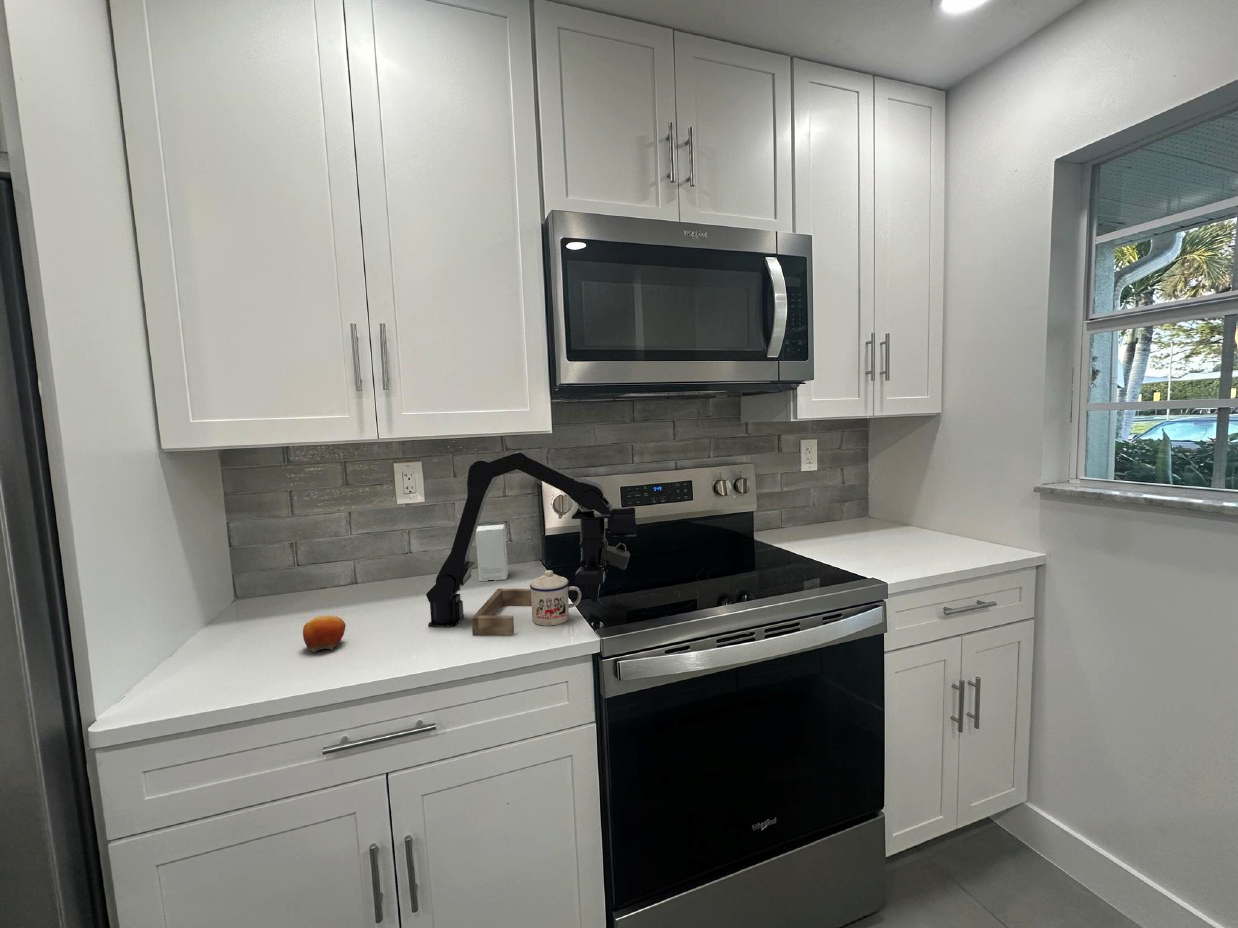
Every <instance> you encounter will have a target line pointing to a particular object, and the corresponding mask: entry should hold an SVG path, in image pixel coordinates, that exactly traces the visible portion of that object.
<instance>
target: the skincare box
mask: <svg viewBox="0 0 1238 928" xmlns="http://www.w3.org/2000/svg"><path fill="white" fill-rule="evenodd" d="M505 526H506V525H505V524H492V525H491V524H490V525H478V527H477V530H476V533H475V545H476V547H475V548H476V556H477V570H478V581H482V582H489V581H488V580H494V581H504V580H507V579H508V576H509V568H508V567H509V565H508V553H507V552H508V551H507V550H508V549H507V538H506V527H505Z"/></svg>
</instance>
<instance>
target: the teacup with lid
mask: <svg viewBox="0 0 1238 928" xmlns="http://www.w3.org/2000/svg"><path fill="white" fill-rule="evenodd" d="M569 583H570V582H569V580H568V579H567V578H566V577H564V576H560V575H557V574H555V573H554V571H553V570H550V569H549V570H545V571H544V574H542V575H541V576H539V577H537V578H534V579H532V580H531V582H530V583H529V589H531V602H532V606H531V618H532V619H531V620H532V622H533V623H534V624H535V625H538V626H544V627H545V626H547V627H549V626H550V627H551V626H557V625H561V624H564V623H565V622H567V621H568V620H569V619H570V609H572V608H575V607H576V606H578V605H579V603H580V602H581V600H582V599H581V598H582V592H581V590H580V588H579V587H577V586H574V585H573V586H569ZM570 591H575V592H577V598H576V600H575V601H574V602H572V603H569V592H570Z"/></svg>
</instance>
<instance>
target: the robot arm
mask: <svg viewBox="0 0 1238 928" xmlns="http://www.w3.org/2000/svg"><path fill="white" fill-rule="evenodd" d="M516 470H517V471H521V472H523V473H524V474H527V475H529V476H530V477H532V478H535V479H537V480H539V481H541V482H543V483H545V484H547V485H549V486H551V487H553V488H555V489H557V490H559V491H562V492H563V493H564V494H565V495H567V496H568V498H570V499H571V500H573V501H574V502H575V504H577V505H579V507H577V509H576V510H575V512H573V513H572V515H571V519H572V520H579V525H580V526H579V527H580V528H579V529H580V531H579V533H580V534H579V535H580V542H579V544H578V545H579V549H580V561H579V566H580V567H579V568H578V569H577V570H576V572H575V575H574V583H575V584H576V585H583V587H584V588H585V590H586V593H587V594H588V596H589V598H590V601H591V603H593V604H595V603H598V600H599V594H600V588H601V585H602V584H604V582H605V579H606V577H607V573H608V571H609V569H608V568H604V567H606V566H607V565H611V566H613V567H616V568H619V569H620V570H624V571H625V570H626V568H627V567H628V563H629V559H630V556H631V553H630V552H629V550H627V546H626V544H624V543H621V542H619V543H618V544H617V545H616V546H614V545H613V546H611V545H608V544H609V543H608V540H607V538H606V526H605V525H607V533H609V534H610V535H612V537H637V535H638V534H637V529H638V527H637V518H636V507H635V506H626V507H613V505H612V504H611V502H610V501H609V500H608V498H606V496H605V490H604V487H603V486H602V485H601V484H600V483H598V482H596V481H592V480H589V479H586V478H582V477H581V478H580V477H577V476H573V475H570V474H568V473H566V472H564V471H562V470H560V469H559V468H555V467H554V466H552V465H550V464H548V463H546V462H543V461H542V460H539V459H537V458H536V457H533V456H531V455H529V454H528V453H527V452H525V451H523V450H518V451H516V452H513V453H512V454H509V455H506V456H503V457H500V458H497V459H492V458H489V457H488V458H483V459H482V458H481V459H480V460H477V461H475V462H473V463H471V465H470V466H469V468H468V471H467V472H468V473H467V480H466V489H467V493H466V494H467V497H466V499H465V504H464V507H463V509H462V514H461V516H460V520H459V524H458V527H457V530H456V534H455V537H454V540H453V544H452V546H451V549H450V553H449V554H448V556H447V558H446V559H445V561H444V563H443V564H442V565H441V568H440V569H439V572H438V574H437V575H436V578H435V584H434V585H433V586H432V587H431V588H430V589H429V590H428V591H427V593H426V594H425V597H426V599H427V601H428V603H429V606H430V607H429V610H430V621H429V622H428V624H427V626H428V627H455V626H457V625H458V624H459V622H460V621H462V620H463V618H465V614H464V602H463V600H462V598H461V593H458V592H460V591H461V587H464V585H465V584H466V583H467V582H468V581H469V580H470V579H471V578H472V571H473V568H474V566H475V564H476V562H475V561H471V560H470V553H471V549H472V547H473V543H474V540H475V538H476V535H475V533H476V530H477V528H478V526H479V523H480V520H481V516H482V514H483V513H482V512H483V510H484V506H485V505H486V501H487V498H488V496H489V495H490V493H491V491H492V490H493V488H494V486H495V484H496V482H497V480H498V478H499V477H500V476H502V475H506V474H507V473H510V472H513V471H516ZM580 506H581V507H582V508H583V509H585V510H583V509H582V508H581V507H580ZM605 519H607V524H605V523H606V522H605V521H606V520H605Z"/></svg>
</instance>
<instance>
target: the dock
mask: <svg viewBox="0 0 1238 928" xmlns="http://www.w3.org/2000/svg"><path fill="white" fill-rule="evenodd" d="M530 606H531V607H532V602H531V588H497V589H496V590H495V591H494V592H493V594H492V595H490V597H489V598H488V599H486V601H485V602H484V603H483V605H481V607H480V608H479V609H478V610H477V611H476V613H475V614H474V615H473V616H472V617H471V630H472V631H471V633H472V635H486V636H487V635H500V637H503V635H504V637H506V635H507V637H509V636H510V637H511V636H512V637H513V636H514V635H515V621H514V620H515V618H514V615H497V614H498V613H499V611H500V610H501V609H502V607H530ZM496 613H497V614H496ZM501 635H502V636H501ZM508 635H509V636H508ZM486 636H485V637H486Z"/></svg>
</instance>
